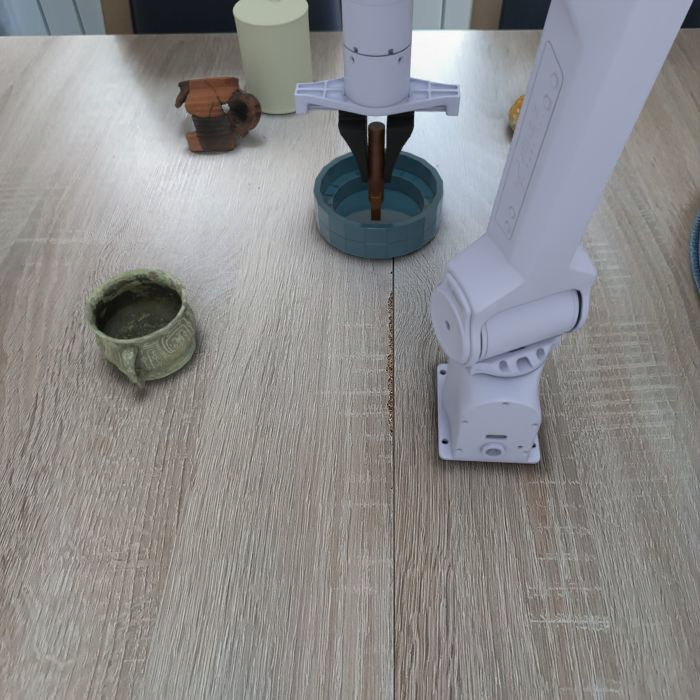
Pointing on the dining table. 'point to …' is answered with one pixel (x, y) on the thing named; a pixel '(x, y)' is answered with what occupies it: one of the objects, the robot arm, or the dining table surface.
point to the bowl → (396, 210)
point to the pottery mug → (217, 112)
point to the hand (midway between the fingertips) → (376, 176)
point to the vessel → (143, 323)
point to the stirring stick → (376, 167)
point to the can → (274, 50)
